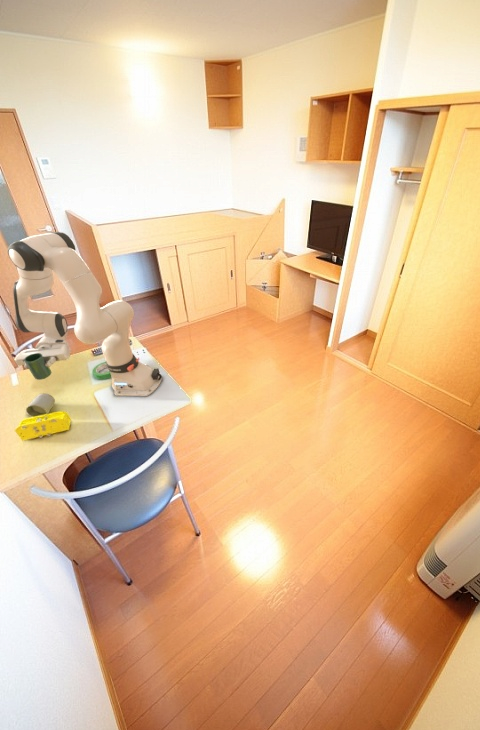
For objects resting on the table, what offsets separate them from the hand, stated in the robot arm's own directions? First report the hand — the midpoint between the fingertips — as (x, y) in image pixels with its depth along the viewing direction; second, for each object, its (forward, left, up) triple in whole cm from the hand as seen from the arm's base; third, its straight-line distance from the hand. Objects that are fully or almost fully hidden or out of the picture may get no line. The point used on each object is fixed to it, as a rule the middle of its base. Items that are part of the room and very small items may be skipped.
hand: (36, 366), depth 124 cm
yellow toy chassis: (-15, +18, -16) cm, 29 cm away
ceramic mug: (-4, +10, -16) cm, 20 cm away
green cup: (0, -1, -5) cm, 5 cm away
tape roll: (-14, -19, -16) cm, 28 cm away
